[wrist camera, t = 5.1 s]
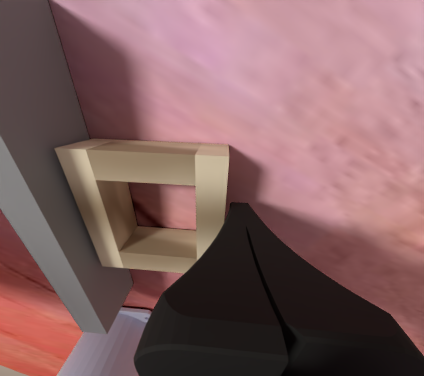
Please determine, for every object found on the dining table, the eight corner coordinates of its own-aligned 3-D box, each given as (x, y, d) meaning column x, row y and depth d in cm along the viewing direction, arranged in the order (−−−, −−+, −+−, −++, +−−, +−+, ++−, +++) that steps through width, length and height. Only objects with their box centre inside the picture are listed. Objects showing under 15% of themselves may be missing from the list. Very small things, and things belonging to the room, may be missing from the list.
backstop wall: (133, 283, 16) (107, 334, 13) (113, 282, 16) (82, 331, 13) (46, -4, 7) (-134, -116, 4) (3, -4, 7) (-213, -112, 4)
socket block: (220, 246, 13) (219, 276, 11) (122, 239, 13) (102, 266, 11) (228, 144, 9) (229, 156, 7) (93, 138, 10) (54, 148, 7)
